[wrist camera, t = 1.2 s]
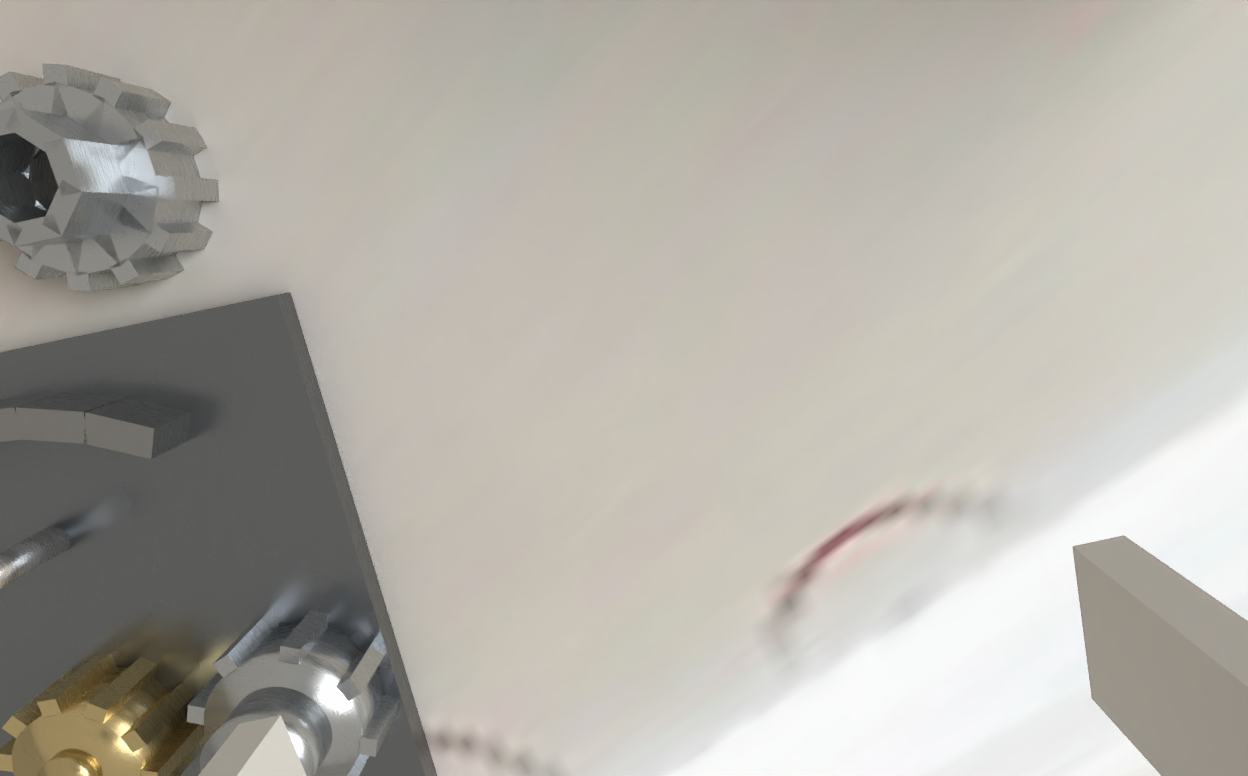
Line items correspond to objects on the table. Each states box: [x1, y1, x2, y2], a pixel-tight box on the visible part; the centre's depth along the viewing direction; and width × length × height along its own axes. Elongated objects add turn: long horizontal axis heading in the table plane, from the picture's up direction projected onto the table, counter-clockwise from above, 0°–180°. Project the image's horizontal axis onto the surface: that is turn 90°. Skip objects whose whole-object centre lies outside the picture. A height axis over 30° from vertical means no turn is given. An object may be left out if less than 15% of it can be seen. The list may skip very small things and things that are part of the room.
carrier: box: [0, 293, 437, 776], centre depth 33 cm, size 26×28×7 cm
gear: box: [0, 64, 219, 292], centre depth 29 cm, size 9×9×6 cm
